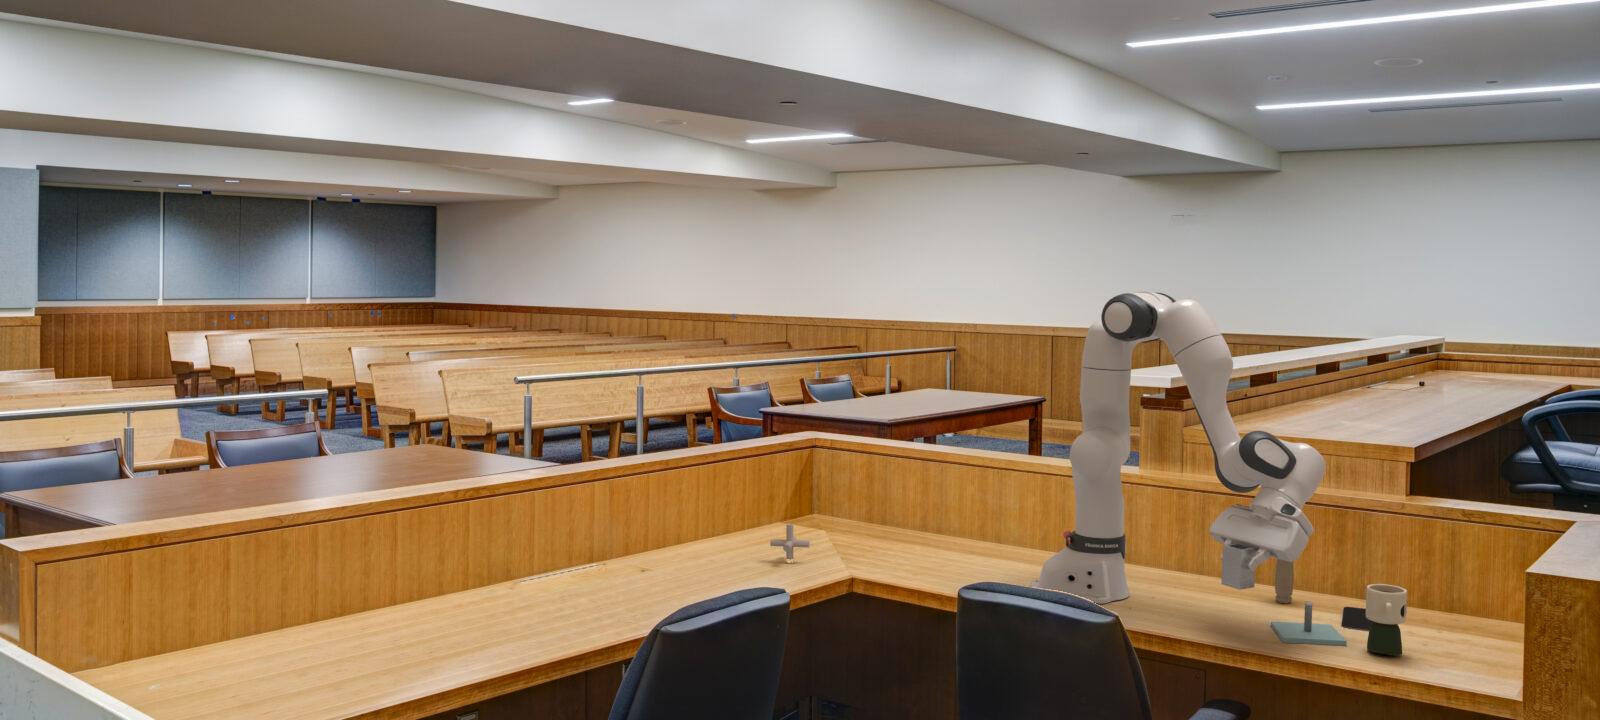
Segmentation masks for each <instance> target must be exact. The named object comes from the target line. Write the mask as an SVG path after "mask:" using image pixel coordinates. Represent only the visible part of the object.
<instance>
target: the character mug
mask: <svg viewBox="0 0 1600 720" xmlns="http://www.w3.org/2000/svg"><path fill="white" fill-rule="evenodd" d="M1365 594H1366V596H1365V597H1366V598H1365V609H1366V618H1367V619H1369V620H1371V621H1374V622H1372V623H1371V625H1370V630H1369V631H1368V636H1367V643H1366V650H1368V651H1370V652H1373V653H1379V654H1382V655H1383V656H1384V657H1385V656H1387V655H1389V656H1401V655H1402V654H1403V643H1402V633H1401V628H1400V626H1399V625H1400V624H1404V623H1406V621H1407V613H1408V612H1407V611H1408V610H1407V609H1408V607H1407V605H1408V604H1407V603H1408V590H1407V589H1406V588H1404V587H1401V586H1398V585H1392V584H1387V583H1385V584H1384V583H1374V584H1373V583H1371V584H1368V585H1367V586H1366V592H1365Z"/></svg>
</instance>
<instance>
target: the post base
mask: <svg viewBox="0 0 1600 720" xmlns="http://www.w3.org/2000/svg"><path fill="white" fill-rule="evenodd" d="M1270 627H1271V628H1272V630H1273V631H1274V633H1276V635H1277V636H1278V637H1279V639H1280V640H1281V642H1282V643H1285V644H1287V643H1288V644H1308V645H1321V646H1322V645H1324V646H1325V645H1326V644H1328V645H1326V646H1340V645H1341V647H1342V646H1343V647H1344V646H1345V647H1347V640H1346V638H1344V636H1342V634H1341V633H1340V632H1339V631H1338V630H1337V629H1336V628H1335V627H1334V626H1333V625H1332V624H1330V623H1329V624H1327V623H1325V624H1324V623H1313V602H1312V601H1304V620H1303V622H1287V621H1286V622H1285V621H1270Z"/></svg>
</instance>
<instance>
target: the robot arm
mask: <svg viewBox="0 0 1600 720" xmlns="http://www.w3.org/2000/svg"><path fill="white" fill-rule="evenodd" d="M1100 318H1101V319H1100V320H1098V321H1095V322H1094V323H1091V325H1090V326H1089V328H1088V330H1087V332H1086V337H1085V341H1084V346H1083V351H1082V358H1081V369H1080V370H1081V371H1080V372H1081V373H1080V387H1079V388H1080V389H1079V391H1080V392H1079V403H1080V407H1081V415H1082V416H1081V417H1082V433H1081V434H1079V435H1078V436H1077V437H1076V438H1075V439H1074V440H1073V443H1072V444H1071V447H1070V451H1069V461H1070V464H1071V474H1072V482H1073V488H1074V490H1073V491H1074V498H1075V500H1074V501H1075V503H1074V507H1075V509H1074V512H1075V513H1074V514H1075V515H1074V530H1073V531H1071V530H1070V529H1065V530H1064V531H1063V534H1062V535H1063V538H1064V539H1065V547H1064V548H1062V549H1061V550H1060V551H1058V552H1056V553H1055V554H1054V555H1052V556H1051V557H1049V558H1047V559H1046V561H1044V563H1043V565H1042V568H1041V572H1040V576H1039V578H1037V579H1034V580H1033V581H1032V582H1031V583H1030V588H1031V587H1036V588H1043V589H1051V590H1058V591H1063V592H1067V593H1071V594H1074V595H1078V596H1080V597H1084V598H1086V599H1089V600H1091V601H1093V602H1095V603H1094V604H1102V605H1104V604H1108V603H1110V602H1113V601H1119V600H1124V599H1127V598H1129V596H1130V595H1131V594H1130V591H1129V587H1128V582H1127V576H1126V569H1125V568H1126V567H1125V559H1126V554H1127V538H1126V533H1125V498H1124V494H1123V487H1122V485H1123V484H1122V476H1121V475H1122V474H1121V468H1122V466H1123V465H1124V464H1125V463H1126V462H1127V461H1128V459H1129V458H1130V454H1131V447H1132V446H1131V419H1130V418H1131V416H1130V392H1131V391H1130V389H1131V378H1132V377H1131V376H1132V375H1131V373H1132V360H1133V359H1132V357H1133V352H1134V349H1135V347H1136V346H1137V345H1138V344H1139V343H1143V344H1146V343H1151V342H1155V341H1159V340H1161V341H1162V342H1163V343H1165V345H1166V346H1167V349H1168V350H1169V352H1170V354H1171V356H1172V357H1173V359H1174V361H1175V363H1176V365H1177V367H1178V370H1179V371H1180V374H1181V375H1182V378H1183V379H1184V382H1185V384H1186V387H1187V390H1188V392H1189V396H1190V398H1191V401H1192V404H1193V406H1194V409H1195V412H1196V414H1197V417H1198V419H1199V421H1200V423H1201V427H1202V429H1203V431H1204V432H1205V433H1204V434H1205V435H1206V438H1207V440H1208V443H1209V445H1210V447H1211V449H1212V453H1213V458H1214V459H1213V462H1214V469H1215V470H1214V471H1215V474H1216V477H1217V479H1218V480H1219V482H1220V484H1221V485H1222V486H1224V487H1226V489H1227V490H1230V491H1233V492H1235V493H1239V494H1240V493H1241V494H1247V493H1250V492H1253V491H1255V490H1256V489H1257V488H1259V486H1261V488H1260V490H1259V491H1258V492H1257V494H1256V495H1255V497H1254V498H1253V499H1252V501H1251V502H1250V504H1249V505H1243V504H1240V503H1236V504H1234V505H1231V506H1228V507H1227V508H1226V509H1224V510H1223V511H1222V512H1221V513H1220V514H1219V516H1217V517H1216V519H1215V520H1214V521H1213V522H1212V524H1210V526H1209V534H1210V536H1211V537H1212V538H1213V540H1214V541H1216V543H1217V542H1218V543H1220V544H1223V545H1229V544H1236V543H1239V544H1242V545H1246V546H1250V547H1253V548H1256V556H1255V557H1253V558H1252V559H1251V558H1248V559H1247V562H1245V567H1246V568H1247V569H1249V570H1252V571H1254V570H1255V571H1256V569H1257V567H1258V566H1260V565H1262V564H1263V563H1265V562H1268V561H1269V559H1270V557H1272V558H1274V559H1277V558H1278V559H1281V560H1285V561H1288V562H1292V561H1293V562H1295V561H1296V560H1298V559H1299V558H1300V557H1301V555H1302V554H1303V552H1304V550H1305V549H1306V547H1307V545H1308V543H1309V537H1311V536H1312V535H1313V534H1314V532H1315V528H1314V526H1313V525H1312V523H1311V521H1310V520H1309V518H1308V517H1307V516H1306V514H1304V512H1303V507H1304V505H1305V503H1306V502H1308V501H1309V500H1310V499H1311V498H1312V497H1313V496H1314V494H1315V492H1316V491H1317V489H1318V487H1319V486H1320V484H1321V482H1322V480H1323V478H1324V476H1325V472H1326V469H1327V464H1326V460H1325V458H1324V457H1323V455H1322V454H1321V453H1320V452H1319V451H1318V450H1317V449H1316V448H1314V447H1313V446H1311V445H1310V444H1308V443H1306V442H1305V443H1304V442H1292V441H1291V442H1290V441H1286V440H1283V439H1281V438H1279V437H1276V436H1275V435H1273V434H1272V433H1269V432H1268V431H1264V430H1253V431H1250V432H1247V433H1246V434H1244V436H1242V437H1241V436H1240V433H1239V432H1238V430H1237V427H1236V425H1235V423H1234V420H1233V418H1232V416H1231V413H1230V411H1229V408H1228V404H1227V391H1228V387H1229V382H1230V379H1231V376H1232V374H1233V371H1234V361H1233V357H1232V353H1231V350H1230V348H1229V346H1228V344H1227V342H1226V340H1225V338H1224V336H1223V334H1222V332H1221V331H1220V329H1219V328H1218V326H1217V325H1216V323H1215V321H1214V320H1213V319H1212V316H1210V314H1209V313H1208V312H1207V311H1206V309H1205V308H1204V307H1203V306H1202V305H1201V303H1199V302H1198V301H1196V300H1194V299H1191V298H1190V299H1189V298H1187V299H1185V298H1184V299H1180V300H1176V299H1175V298H1173V296H1170V295H1168V294H1166V293H1163V292H1152V291H1137V292H1131V293H1129V292H1126V293H1124V292H1123V293H1121V294H1118V295H1114V297H1113V296H1112V297H1111V298H1110V299H1109V300H1108V301H1107V302H1106V303H1105V304H1104V305H1103V308H1102V311H1101V314H1100ZM1222 558H1223V553H1222V554H1221V555H1220V560H1221V561H1222Z"/></svg>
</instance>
